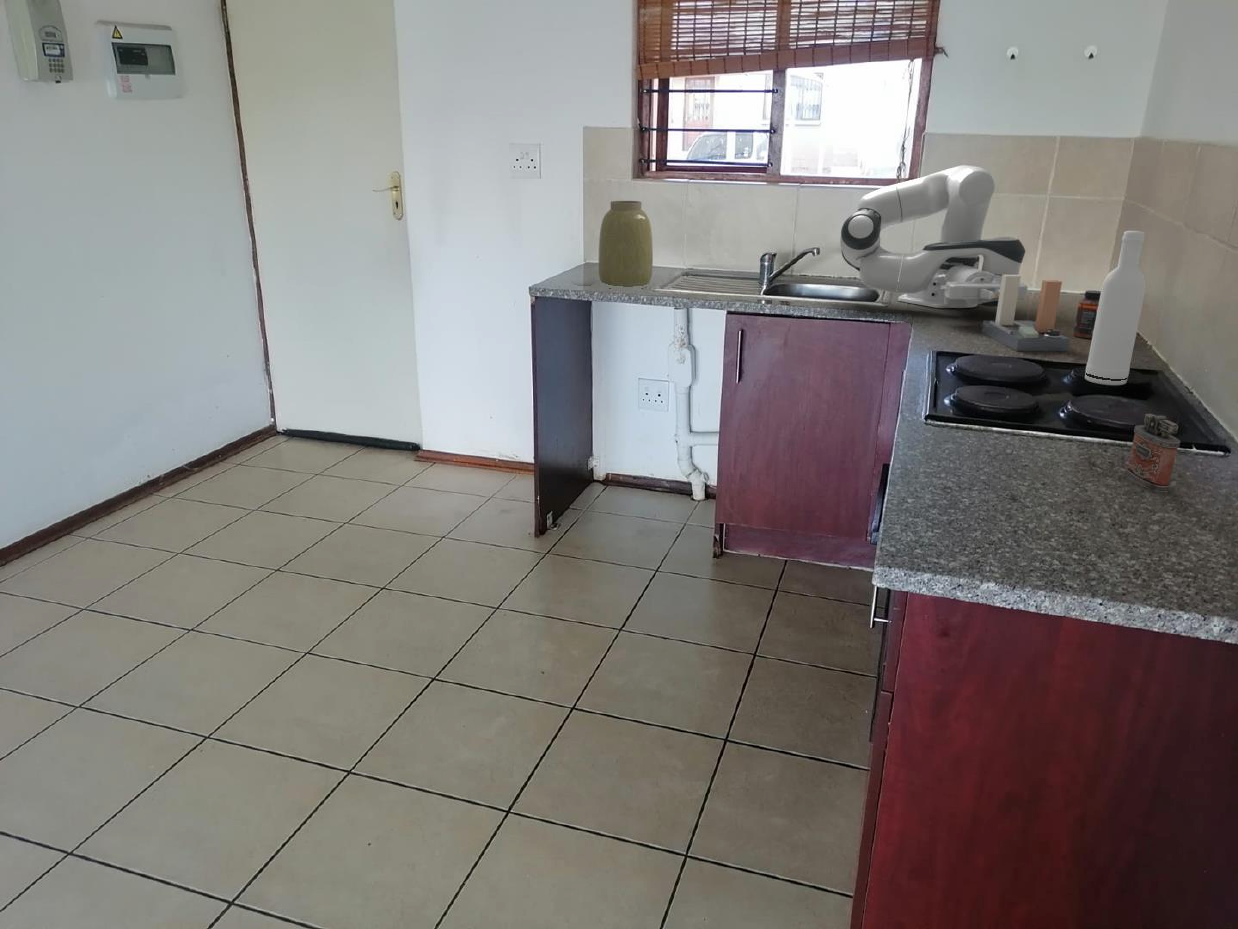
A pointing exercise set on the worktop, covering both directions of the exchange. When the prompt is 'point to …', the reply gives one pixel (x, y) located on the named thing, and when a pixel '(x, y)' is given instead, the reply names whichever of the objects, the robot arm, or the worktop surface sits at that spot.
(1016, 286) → the cream rectangular block
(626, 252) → the vase
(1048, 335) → the platform
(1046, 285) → the tall salmon pillar
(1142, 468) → the lighter
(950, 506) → the worktop surface
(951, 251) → the robot arm
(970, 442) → the worktop surface
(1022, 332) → the rocker
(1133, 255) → the bottle
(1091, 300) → the supplement bottle
